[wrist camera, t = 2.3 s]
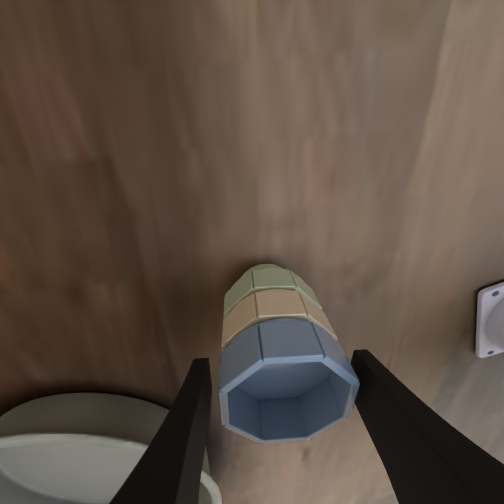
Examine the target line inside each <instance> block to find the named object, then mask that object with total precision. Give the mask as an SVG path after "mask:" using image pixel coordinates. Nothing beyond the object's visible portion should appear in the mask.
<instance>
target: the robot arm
mask: <svg viewBox="0 0 504 504" xmlns="http://www.w3.org/2000/svg"><path fill="white" fill-rule="evenodd" d="M501 352H504V282H502V283H499V284H496V285H493V286H490V287H487V288H484V289H482V290H481V291H480V292H479V293H478V302H477V326H476V350H475V354H476V355H477V356H478V357H480V358H485V357H488V356H492V355H495V354H498V353H501ZM351 366H352V368H353V370H354V372H355V374H356V375H357V377H358V379H359V382H360V386H359V389H358V392H357V396H356V399H355V405H356V407H357V409H358V411H359V413H360V415H361V418H362V420H363V422H364V424H365V426H366V428H367V430H368V432H369V435H370V437H371V439H372V441H373V443H374V445H375V447H376V449H377V452H378V454H379V456H380V458H381V460H382V462H383V465H384V467H385V469H386V471H387V474H388V476H389V479H390V481H391V484H392V487H393V489H394V492H395V495H396V497H397V500H398V502H399V504H504V464H502V463H501V462H500V461H498V460H497V459H495V458H494V457H492V456H491V455H490V454H488V453H487V452H485V451H484V450H483V449H481V448H480V447H479V446H477V445H476V444H475V443H473V442H472V441H471V440H469V439H468V438H467V437H465V436H464V435H463V434H462V433H460V432H459V431H458V430H456V429H455V428H454V427H452V426H451V425H450V424H449V423H448V422H446V421H445V420H444V419H443V418H441V417H440V416H439V415H438V414H437V413H435V412H434V411H433V410H432V409H431V408H430V407H428V406H427V405H426V404H425V403H424V402H423V401H421V400H420V399H419V398H418V397H417V396H416V395H415V394H414V393H412V392H411V391H410V390H409V389H408V388H407V387H406V386H405V385H404V384H403V383H401V382H400V381H399V380H398V379H397V378H396V377H395V376H394V375H393V374H392V373H391V372H390V371H389V370H388V369H387V368H386V367H385V366H384V365H383V364H381V363H380V362H379V361H378V360H377V359H376V358H375V357H374V356H373V355H372V354H371V353H370V352H369V351H368V350H367V349H365V350H354V353H353V357H352V360H351ZM211 397H212V383H211V374H210V366H209V358H200V359H194V360H193V362H192V364H191V367H190V369H189V372H188V374H187V376H186V379H185V381H184V383H183V385H182V387H181V389H180V391H179V393H178V395H177V397H176V399H175V401H174V403H173V405H172V407H171V409H170V410H169V412H168V414H167V416H166V417H165V419H164V421H163V423H162V424H161V426H160V428H159V430H158V431H157V433H156V435H155V436H154V438H153V440H152V441H151V443H150V444H149V446H148V448H147V449H146V451H145V452H144V454H143V455H142V457H141V458H140V460H139V461H138V463H137V464H136V466H135V467H134V469H133V470H132V472H131V473H130V475H129V476H128V478H127V479H126V480H125V482H124V483H123V485H122V486H121V488H120V489H119V490H118V492H117V493H116V494H115V496H114V497H113V499H112V500H111V501H110V503H109V504H198V499H199V488H200V480H201V472H202V466H203V459H204V453H205V446H206V440H207V433H208V426H209V420H210V413H211Z"/></svg>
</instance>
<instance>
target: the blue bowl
mask: <svg viewBox="0 0 504 504" xmlns="http://www.w3.org/2000/svg"><path fill="white" fill-rule="evenodd" d="M359 386H360V382H359V379H358V377H357V375H356V374H355V372H354V370H353V368H352V366H351V364H350V362H349V360H348V358H347V356H346V354H345V352H344V350H343V348H342V346H341V345H340V344H339V343H338V342H336V341H335V340H334V339H333V338H332V336H331V335H330V334H329V333H328V332H327V331H326V330H325V329H323V328H322V327H320V326H318V325H316V324H315V323H313V322H310V321H306V320H301V319H294V318H281V319H273V320H268V321H264V322H259V323H257V324H256V325H253V326H251V327H249V328H248V329H246V330H244V331H243V332H241V333H240V334H239V335H237V336H236V337H235V338H234V339H233V340H232V342H231V343H230V344H229V345H228V347H227V348H226V349H225V350H224V351H222V354H221V358H220V373H219V388H218V395H219V405H220V415H221V424H222V425H223V427H224V428H226V429H228V430H231V431H233V432H235V433H237V434H239V435H241V436H243V437H245V438H247V439H249V440H251V441H254V442H256V443H258V444H259V443H261V444H272V443H285V442H299V441H308V439H310V440H311V439H313V438H315V437H317V436H318V435H320V434H322V433H324V432H325V431H327V430H329V429H330V428H332V427H334V426H336V425H337V424H339V423H341V422H343V421H344V420H346V419H348V416H351V412H352V409H353V406H354V402H355V399H356V396H357V392H358V389H359Z"/></svg>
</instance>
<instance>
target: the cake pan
mask: <svg viewBox="0 0 504 504" xmlns="http://www.w3.org/2000/svg"><path fill="white" fill-rule="evenodd" d="M168 412H169V410H168V409H166V408H164V407H161V406H159V405H157V404H153V403H150V402H147V401H144V400H140V399H137V398H132V397H127V396H122V395H115V394H107V393H66V394H58V395H52V396H47V397H42V398H38V399H35V400H31V401H29V402H26V403H24V404H21V405H19V406H17V407H15V408H13V409H11V410H10V411H8V412H7V413H5V414H4V415H2V416H1V417H0V504H109V503H110V501H111V500H112V499H113V497H114V496H115V494H116V493H117V492H118V490H119V489H120V488H121V486H122V485H123V483H124V482H125V480H126V479H127V478H128V476H129V475H130V473H131V472H132V470H133V469H134V467H135V466H136V464H137V463H138V461H139V460H140V458H141V457H142V455H143V454H144V452H145V451H146V449H147V448H148V446H149V444H150V443H151V441H152V440H153V438H154V436H155V435H156V433H157V431H158V430H159V428H160V426H161V424H162V423H163V421H164V419H165V417H166V416H167V414H168ZM221 503H222V501H221V493H220V491H219V488H218V486H217V484H216V482H215V481H214V480H213V479H212V477H211V476H210V471H209V463H208V455H207V448H206V446H205V453H204V459H203V466H202V472H201V480H200V488H199V499H198V504H221Z"/></svg>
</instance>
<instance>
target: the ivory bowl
mask: <svg viewBox="0 0 504 504" xmlns="http://www.w3.org/2000/svg"><path fill="white" fill-rule="evenodd" d="M281 318H294V319H301V320H306V321H310V322H313V323H315V324H316V325H318V326H320V327H322V328H323V329H325V330H326V331H327V332H328V333H329V334H330V335H331V336H332V338H333V339H334V340H335V341H336V342H338V339H337V336H336V335H335V333H334V331H333V329H332V327H331V325H330V323H329V321H328V319H327V317H326V315H325V313H324V312H323V311H321V310H320V309H319V308H318V307H317V306H316V304H315V303H314V302H313V301H312V300H311V299H309V298H308V297H306V296H305V295H303V294H302V293H301V292H297V291H292V290H286V289H269V290H264V291H260V292H255V293H254V294H253V293H252V294H251V295H250V296H248V297H246V298H244V299H243V300H241V301H240V302H239V303H238V304H237V305H236V306H235V307H234V308H233V309H232V310H231V312H230V313H229V314H228V315H227V316H226V317H225V318H224V320H223V329H222V344H221V349H222V351H224V350H225V349H226V348H227V347H228V345H229V344H230V343H231V342H232V340H233V339H234V338H235V337H236V336H237V335H239V334H240V333H241V332H243V331H244V330H246V329H248V328H249V327H251V326H253V325H256V324H257V323H259V322H264V321H268V320H273V319H281Z"/></svg>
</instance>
